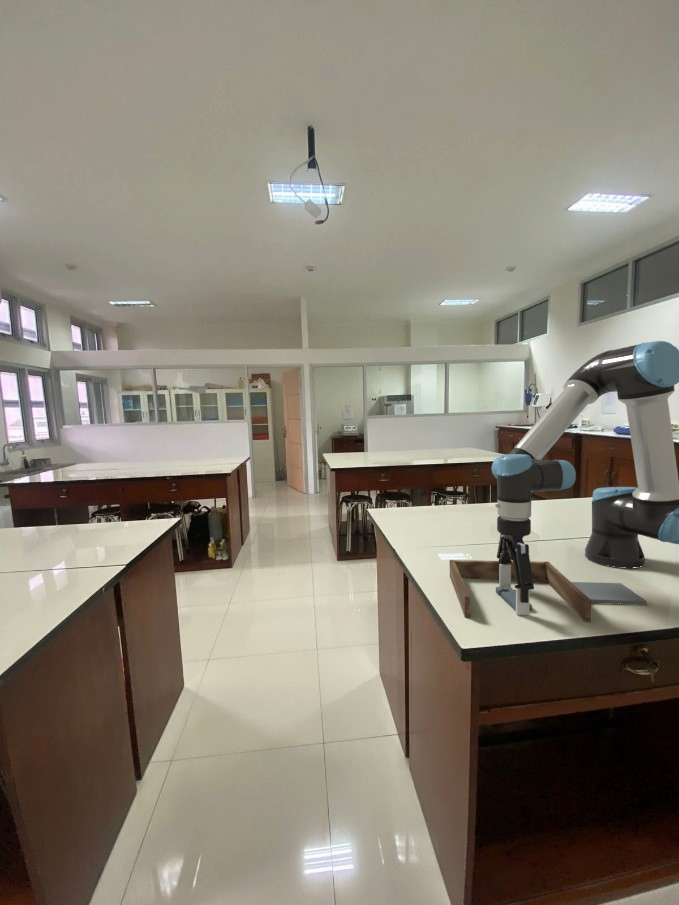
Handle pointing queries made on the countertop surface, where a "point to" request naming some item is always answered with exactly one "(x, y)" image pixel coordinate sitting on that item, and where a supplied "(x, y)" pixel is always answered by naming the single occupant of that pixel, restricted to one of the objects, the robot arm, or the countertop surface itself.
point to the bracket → (509, 596)
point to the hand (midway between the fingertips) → (513, 600)
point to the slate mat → (609, 593)
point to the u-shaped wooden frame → (539, 572)
